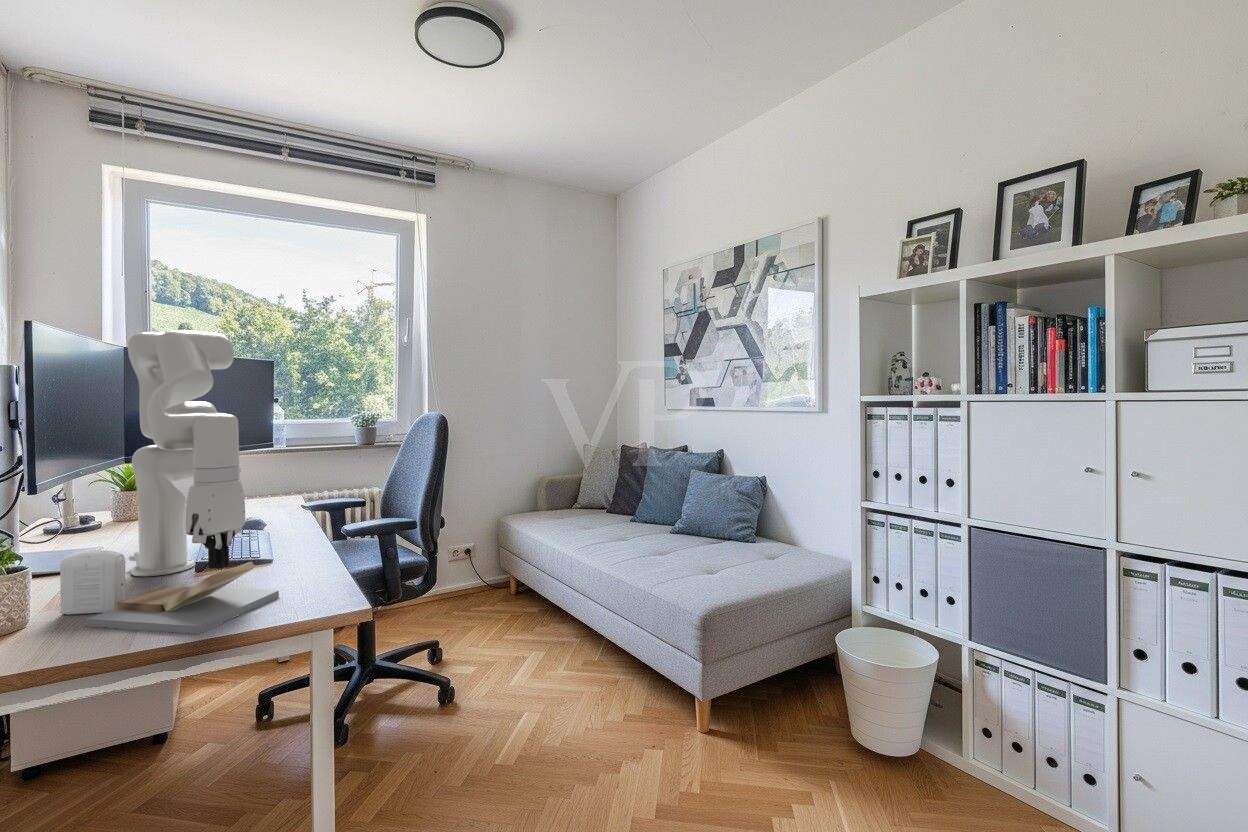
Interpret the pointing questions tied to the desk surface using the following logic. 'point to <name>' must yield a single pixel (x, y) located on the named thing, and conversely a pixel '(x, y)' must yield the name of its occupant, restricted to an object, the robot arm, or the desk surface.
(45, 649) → the desk surface
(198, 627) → the floor board
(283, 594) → the desk surface
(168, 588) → the flat wooden square
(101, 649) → the desk surface
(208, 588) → the oak plank
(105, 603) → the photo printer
